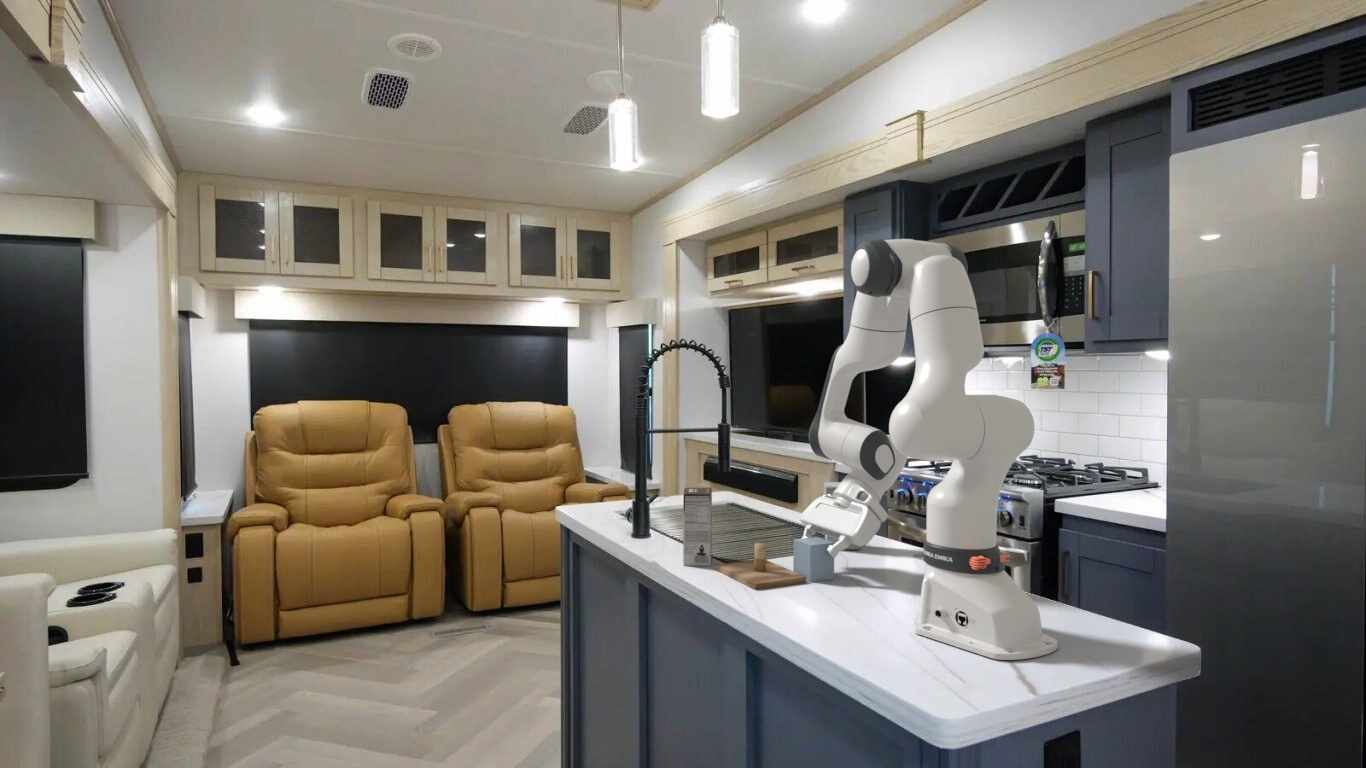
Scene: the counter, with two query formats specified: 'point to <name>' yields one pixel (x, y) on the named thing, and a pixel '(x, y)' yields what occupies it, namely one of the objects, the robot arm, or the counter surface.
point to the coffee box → (697, 526)
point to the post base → (760, 571)
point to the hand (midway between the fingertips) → (815, 549)
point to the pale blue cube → (813, 559)
